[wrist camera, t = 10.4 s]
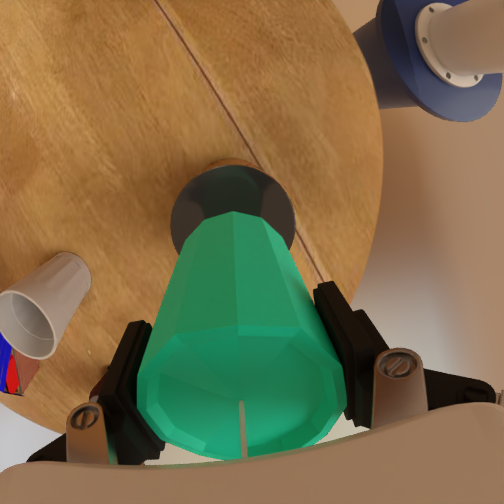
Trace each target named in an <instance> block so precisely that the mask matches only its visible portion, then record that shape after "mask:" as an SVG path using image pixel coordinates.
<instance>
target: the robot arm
mask: <svg viewBox="0 0 504 504" xmlns="http://www.w3.org/2000/svg"><path fill="white" fill-rule="evenodd" d="M415 37H416V42H417V45H418V48H419V51H420V53H421V55H422V57H423V59H424V60H425V62H426V63H427V65H428V66H429V68H430V69H431V70H432V71H433V72H434V73H435V75H437V76H438V77H439V78H440V79H441V80H443V81H444V82H446V83H447V84H449V85H452V86H454V87H460V88H465V87H471V86H474V85H476V84H477V83H478V82H479V81H480V80H481V79H482V77H483V75H484V74H492V73H504V0H469V1H466V2H464V3H461V4H459V5H456V6H454V7H452V6H450V5H448V4H444V3H432V4H429V5H427V6H425V7H424V8H423V9H421V10H420V12H419V13H418V15H417V17H416V20H415ZM313 295H314V303H315V307H316V310H317V312H318V314H319V316H320V318H321V320H322V323H323V325H324V327H325V329H326V331H327V334H328V336H329V338H330V340H331V342H332V345H333V347H334V349H335V351H336V354H337V356H338V358H339V360H340V363H341V365H342V369H343V375H344V381H345V388H346V395H347V407H346V408H345V410H344V411H343V412H344V415H345V417H346V420H351V419H352V420H353V422H354V425H355V427H358V426H363V427H366V428H369V429H370V430H368V431H364V432H361V433H357V434H354V435H350V436H347V437H343V438H339V439H336V440H332V441H328V442H324V443H320V444H316V445H311V446H307V447H303V448H298V449H293V450H288V451H283V452H278V453H272V454H266V455H260V456H254V457H247V458H240V459H232V460H224V461H215V462H204V463H191V464H174V465H145V464H144V461H145V460H152V459H153V460H154V459H159V457H160V451H163V450H164V448H165V441H163V440H161V439H160V438H159V437H158V436H157V435H156V433H155V432H154V431H153V430H152V429H151V427H150V426H149V425H148V424H147V422H146V421H145V419H144V418H143V416H142V415H141V413H140V412H139V410H138V409H137V375H138V372H139V369H140V366H141V363H142V360H143V356H144V353H145V350H146V347H147V344H148V341H149V338H150V335H151V332H152V326H151V324H150V323H146V322H145V321H144V320H140V321H135V322H130V323H129V324H128V326H127V328H126V330H125V332H124V335H123V337H122V339H121V341H120V344H119V346H118V348H117V350H116V353H115V355H114V357H113V360H112V362H111V364H110V367H109V369H108V371H107V374H106V376H105V379H104V381H103V384H102V386H101V388H100V391H99V393H98V399H97V401H96V403H95V402H87V403H83V404H81V405H79V406H77V407H76V408H74V409H73V410H72V411H71V412H70V414H69V416H68V418H67V422H66V433H65V434H63V435H62V436H60V437H59V438H57V439H56V440H54V441H53V442H51V443H49V444H48V445H46V446H45V447H43V448H42V449H40V450H38V451H37V452H35V453H34V454H33V455H31V456H30V457H29V459H28V460H27V461H26V463H22V464H18V465H14V466H11V467H9V468H7V469H5V470H4V471H3V472H1V473H0V504H504V390H502V391H501V393H495V391H494V389H493V388H492V387H491V385H489V384H488V383H486V382H484V381H481V380H477V379H472V378H467V377H462V376H456V375H452V374H447V373H442V372H438V371H433V370H429V369H424V368H423V364H422V360H421V358H420V356H419V355H418V354H417V353H416V352H414V351H412V350H409V349H406V348H393V349H390V348H389V347H388V345H387V344H386V343H385V341H384V340H383V338H382V336H381V335H380V333H379V332H378V330H377V329H376V327H375V326H374V324H373V323H372V322H371V320H370V319H369V317H368V316H367V314H366V313H365V311H364V310H362V309H360V310H356V311H352V309H351V308H350V306H349V304H348V303H347V301H346V300H345V298H344V297H343V295H342V294H341V292H340V290H339V289H338V287H337V286H336V284H335V283H334V281H329V282H324V283H320V284H318V288H316V289H313Z"/></svg>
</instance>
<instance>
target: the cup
mask: <svg viewBox="0 0 504 504" xmlns="http://www.w3.org/2000/svg"><path fill="white" fill-rule="evenodd" d="M90 286H91V274H90V271H89V269H88V267H87V265H86V264H85V262H84V261H83V260H82V259H81V258H80V257H78V256H77V255H75V254H73V253H70V252H61V253H58V254H56V255H55V256H54V257H53V258H52V259H50V260H49V261H47V262H46V263H44V264H43V265H41V266H40V267H38V268H37V269H35V270H34V271H32V272H31V273H29V274H28V275H27V276H25V277H24V278H22V279H21V280H19V281H17V282H16V283H14V284H13V285H11V286H10V287H9V288H7V289H6V290H4V291H3V292H1V293H0V332H1V333H2V335H3V337H4V338H5V339H6V341H7V342H8V343H9V344H10V345H11V346H12V347H13V348H14V349H16V350H17V351H18V352H20V353H21V354H23V355H25V356H27V357H29V358H32V359H38V360H41V359H46V358H49V357H50V356H51V355H52V354H53V353H54V352H55V350H56V348H57V346H58V344H59V342H60V340H61V338H62V336H63V334H64V332H65V329H66V328H67V326H68V324H69V322H70V320H71V319H72V317H73V315H74V313H75V311H76V310H77V308H78V306H79V305H80V303H81V301H82V299H83V298H84V296H85V295H86V294H87V292H88V291H89V289H90Z"/></svg>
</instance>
